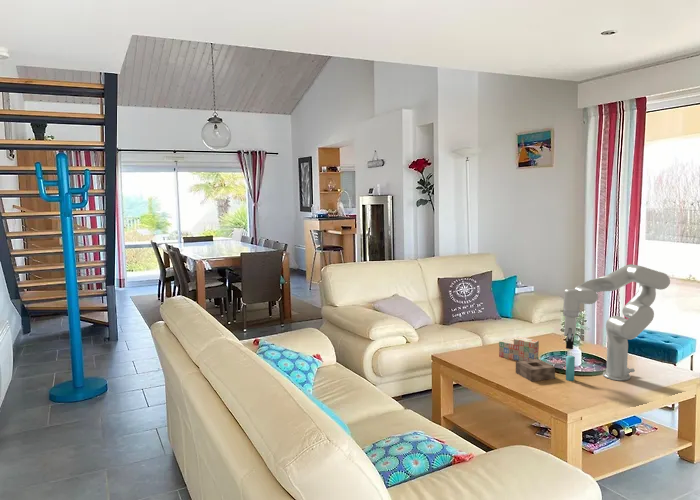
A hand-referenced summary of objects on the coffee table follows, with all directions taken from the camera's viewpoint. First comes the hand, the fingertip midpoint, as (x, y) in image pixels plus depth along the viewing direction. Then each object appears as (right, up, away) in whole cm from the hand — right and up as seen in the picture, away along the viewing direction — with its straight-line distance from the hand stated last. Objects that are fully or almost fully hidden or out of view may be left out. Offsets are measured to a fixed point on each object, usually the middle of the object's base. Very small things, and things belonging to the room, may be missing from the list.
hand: (569, 346), depth 269 cm
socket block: (-15, -17, +9) cm, 24 cm away
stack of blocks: (-14, -14, +37) cm, 42 cm away
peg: (+1, -17, +2) cm, 18 cm away
